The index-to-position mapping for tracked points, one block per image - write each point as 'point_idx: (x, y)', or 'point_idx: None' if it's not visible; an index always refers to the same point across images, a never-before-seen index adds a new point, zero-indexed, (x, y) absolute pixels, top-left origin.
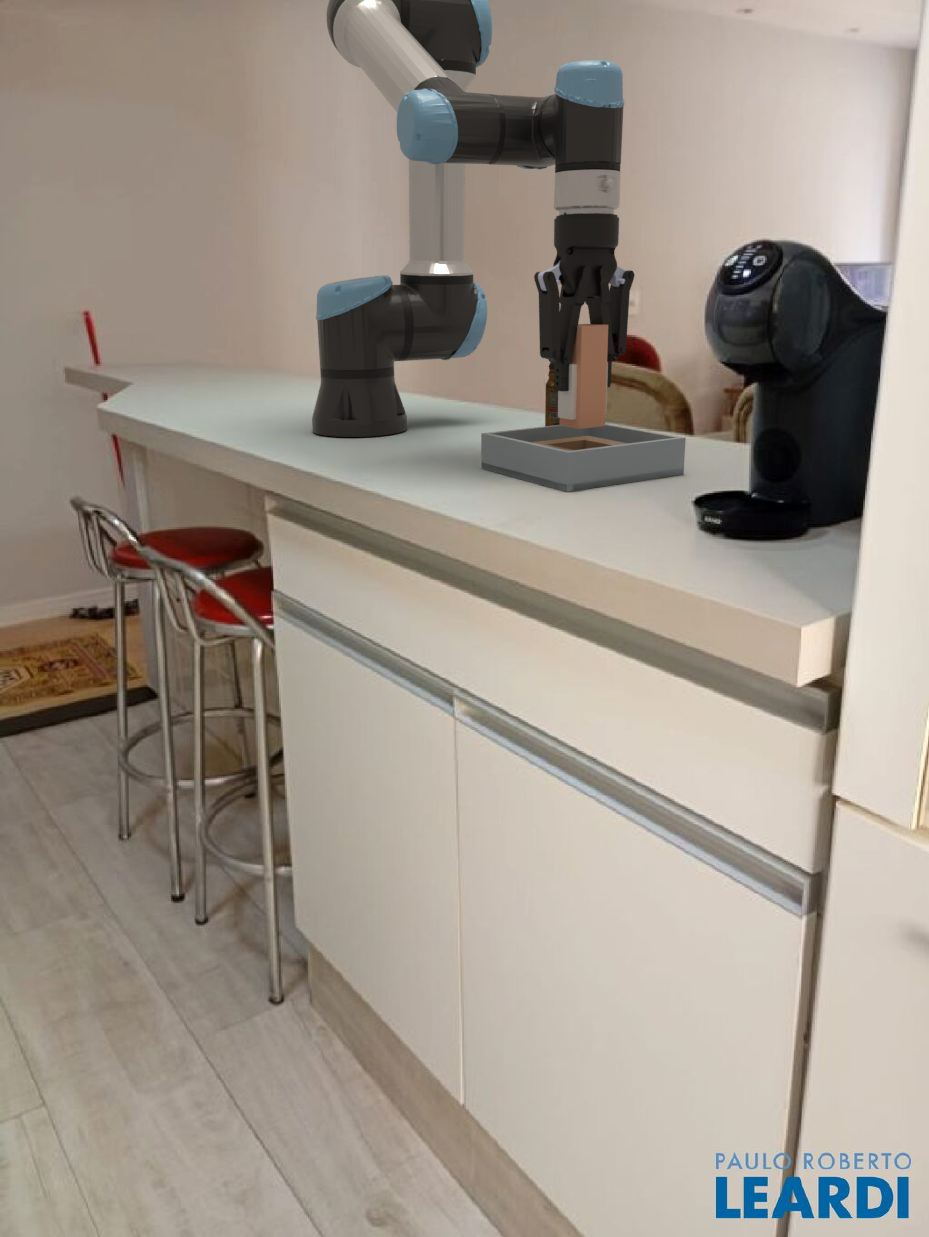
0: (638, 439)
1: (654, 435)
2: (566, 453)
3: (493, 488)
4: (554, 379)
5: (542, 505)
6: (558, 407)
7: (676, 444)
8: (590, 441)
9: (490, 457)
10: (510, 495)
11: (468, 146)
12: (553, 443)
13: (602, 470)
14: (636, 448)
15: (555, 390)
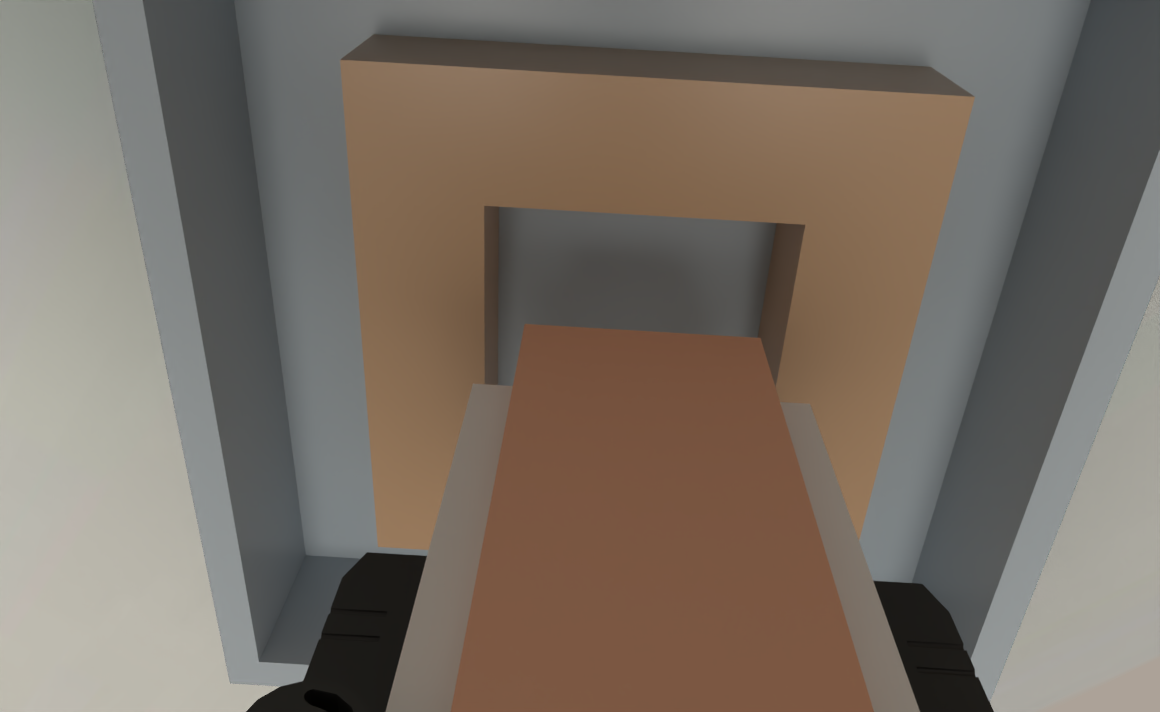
0: (1020, 438)
1: (994, 574)
2: (230, 670)
3: (33, 334)
4: (322, 631)
5: (96, 639)
6: (463, 428)
7: None
8: (792, 280)
9: None
10: (51, 474)
11: None
12: (538, 206)
13: None
14: None
15: (367, 554)
